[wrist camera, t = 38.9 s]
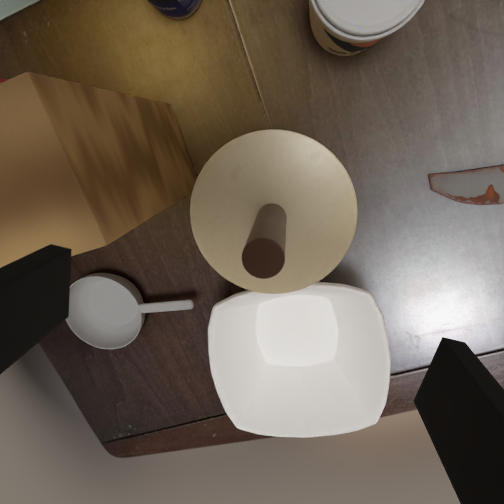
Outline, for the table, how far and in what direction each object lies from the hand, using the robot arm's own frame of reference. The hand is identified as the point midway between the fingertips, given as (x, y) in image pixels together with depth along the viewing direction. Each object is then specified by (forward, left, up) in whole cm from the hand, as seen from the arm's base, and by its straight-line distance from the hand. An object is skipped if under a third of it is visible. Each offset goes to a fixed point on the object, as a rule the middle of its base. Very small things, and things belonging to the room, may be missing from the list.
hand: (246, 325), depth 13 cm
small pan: (+9, -23, -33) cm, 41 cm away
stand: (-8, -14, -33) cm, 36 cm away
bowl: (+19, -3, -33) cm, 38 cm away
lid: (0, 0, -18) cm, 18 cm away
